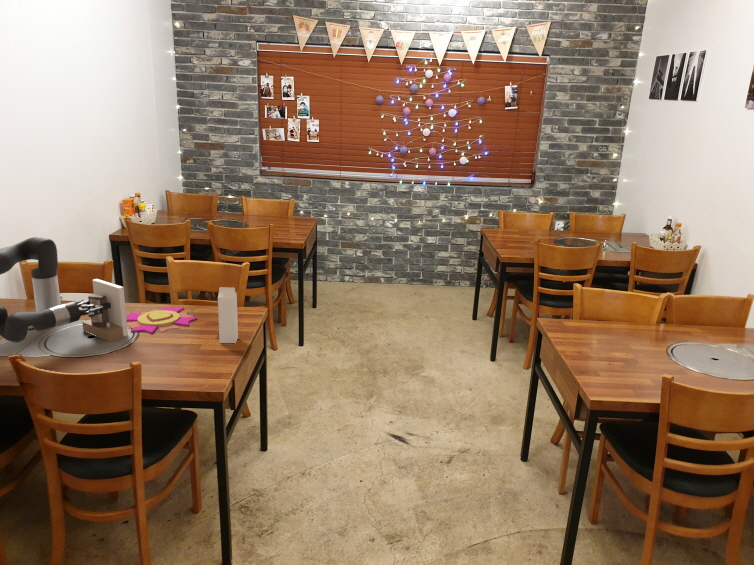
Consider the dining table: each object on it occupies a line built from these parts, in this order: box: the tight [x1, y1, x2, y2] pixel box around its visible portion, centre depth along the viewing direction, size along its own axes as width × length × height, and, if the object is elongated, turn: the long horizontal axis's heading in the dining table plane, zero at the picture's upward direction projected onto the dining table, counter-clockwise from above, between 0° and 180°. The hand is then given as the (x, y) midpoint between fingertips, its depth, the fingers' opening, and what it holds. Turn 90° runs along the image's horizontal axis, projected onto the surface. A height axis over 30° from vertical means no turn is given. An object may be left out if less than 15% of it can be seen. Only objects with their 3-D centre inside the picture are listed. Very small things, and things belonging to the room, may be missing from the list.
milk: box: [217, 286, 239, 344], centre depth 225 cm, size 6×6×22 cm
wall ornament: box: [126, 305, 198, 335], centre depth 246 cm, size 30×2×30 cm
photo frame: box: [87, 293, 109, 327], centre depth 227 cm, size 6×3×12 cm, turn 77°
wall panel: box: [81, 278, 129, 342], centre depth 228 cm, size 17×8×20 cm, turn 58°
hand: (104, 303), depth 228 cm, fingers open, 7 cm apart
